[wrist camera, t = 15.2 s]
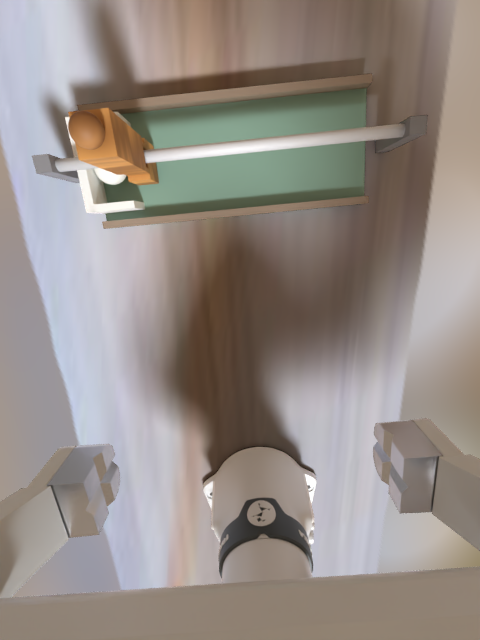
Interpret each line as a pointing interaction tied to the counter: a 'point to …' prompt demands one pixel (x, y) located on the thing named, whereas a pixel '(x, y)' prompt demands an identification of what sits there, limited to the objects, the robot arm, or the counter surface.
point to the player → (111, 145)
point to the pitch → (240, 152)
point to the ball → (109, 176)
